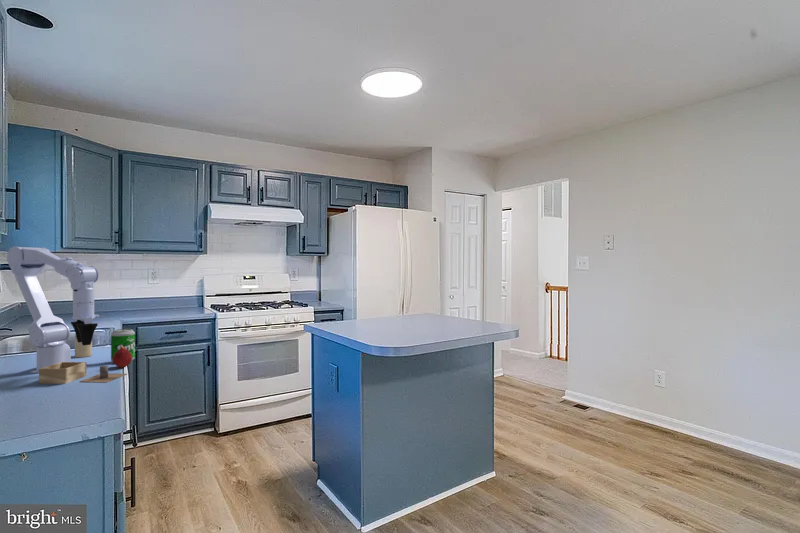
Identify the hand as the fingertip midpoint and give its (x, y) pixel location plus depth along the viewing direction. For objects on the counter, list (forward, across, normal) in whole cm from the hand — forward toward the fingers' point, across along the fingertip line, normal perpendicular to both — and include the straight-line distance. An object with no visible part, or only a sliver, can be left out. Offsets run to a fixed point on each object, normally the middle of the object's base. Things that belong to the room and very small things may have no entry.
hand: (84, 343), depth 144 cm
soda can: (+11, +12, -14) cm, 21 cm away
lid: (+10, -12, -3) cm, 16 cm away
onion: (+11, 0, -11) cm, 15 cm away
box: (+10, -5, +6) cm, 13 cm away
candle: (+10, +33, -5) cm, 35 cm away
